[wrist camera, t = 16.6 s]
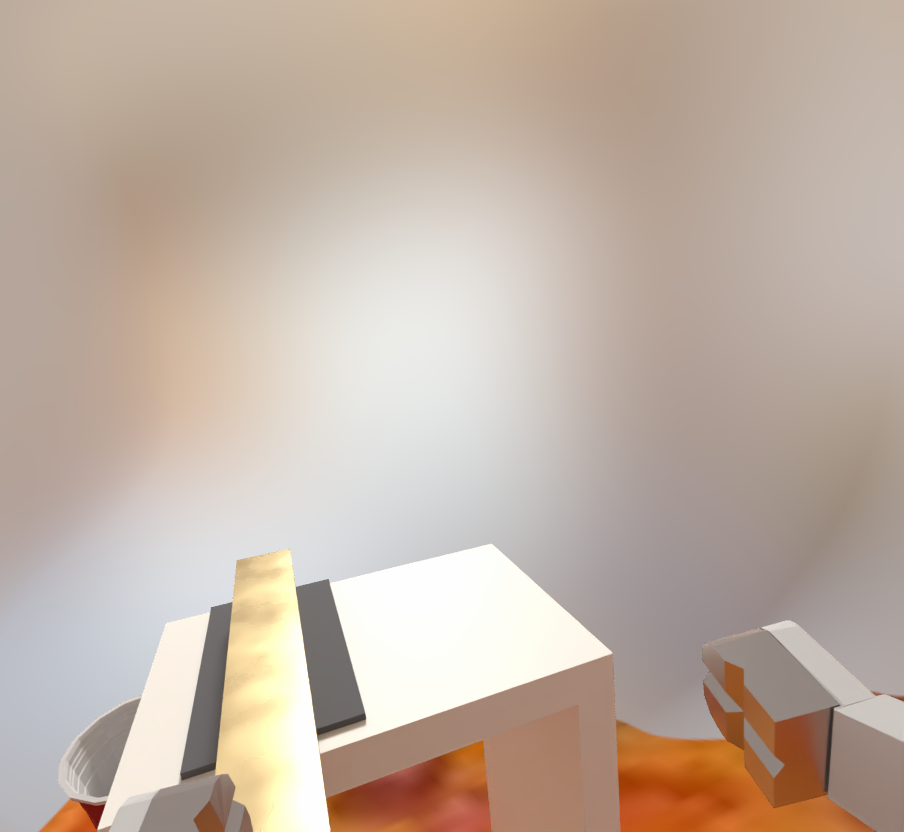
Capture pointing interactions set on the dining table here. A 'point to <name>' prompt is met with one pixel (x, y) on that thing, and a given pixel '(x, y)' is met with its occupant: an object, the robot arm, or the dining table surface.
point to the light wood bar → (270, 704)
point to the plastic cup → (97, 758)
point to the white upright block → (412, 691)
